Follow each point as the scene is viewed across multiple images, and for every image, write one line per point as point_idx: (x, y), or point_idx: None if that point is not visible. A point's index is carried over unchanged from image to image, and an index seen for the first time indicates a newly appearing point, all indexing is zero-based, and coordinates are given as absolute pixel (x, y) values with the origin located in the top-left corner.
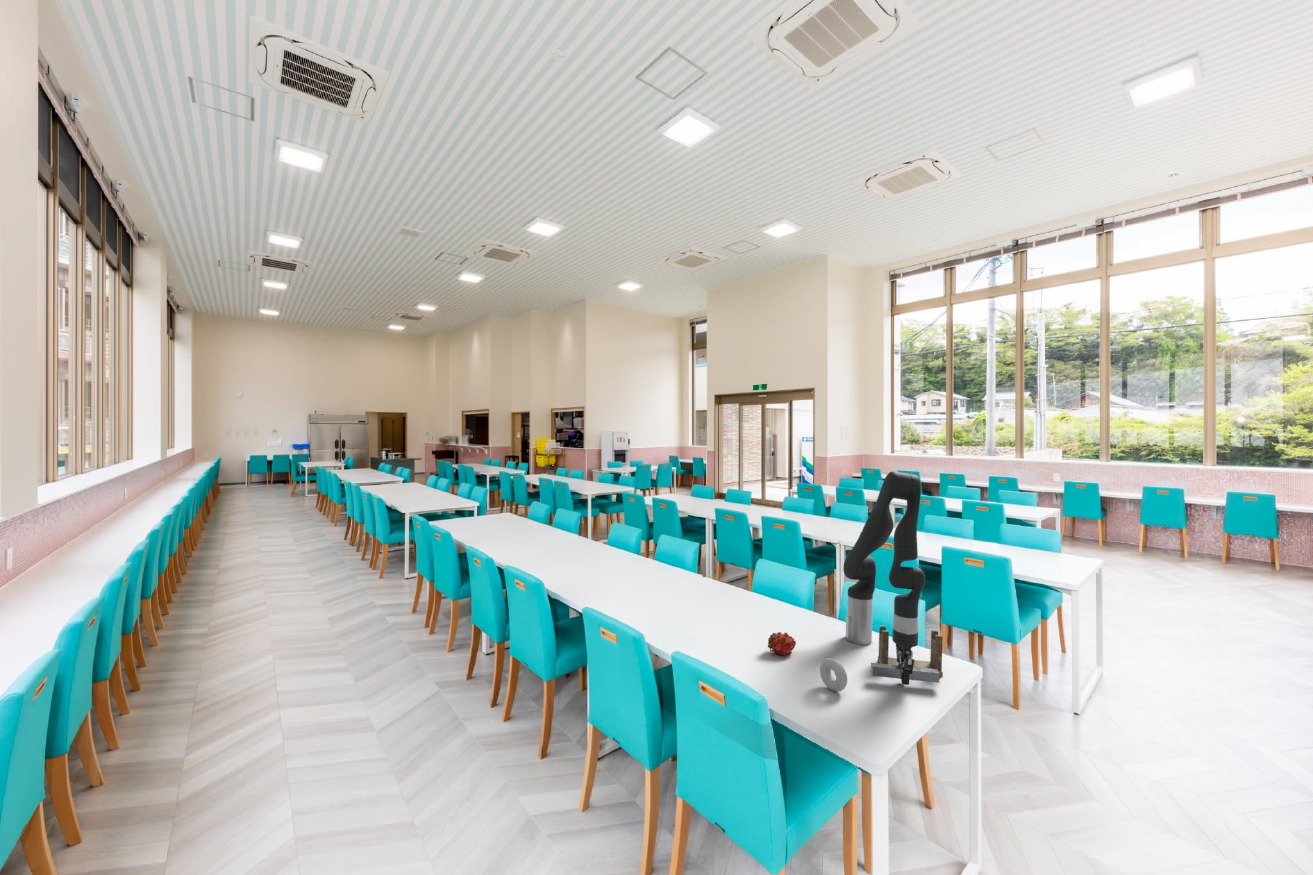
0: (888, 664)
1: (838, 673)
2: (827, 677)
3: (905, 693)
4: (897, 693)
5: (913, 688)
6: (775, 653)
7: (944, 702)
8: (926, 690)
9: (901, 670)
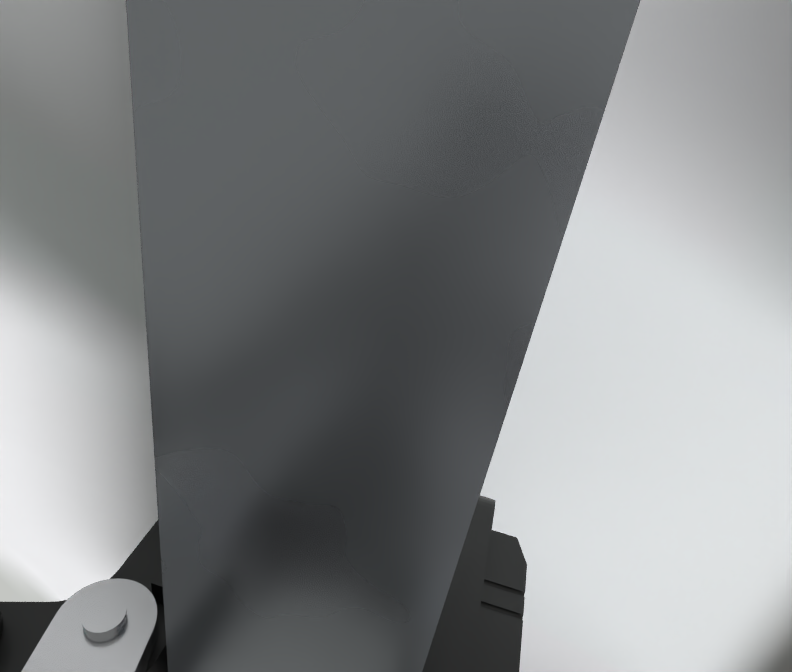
0: (460, 534)
1: None
2: None
3: (133, 347)
4: (95, 232)
5: None
6: None
7: (61, 600)
8: None
9: (114, 617)
